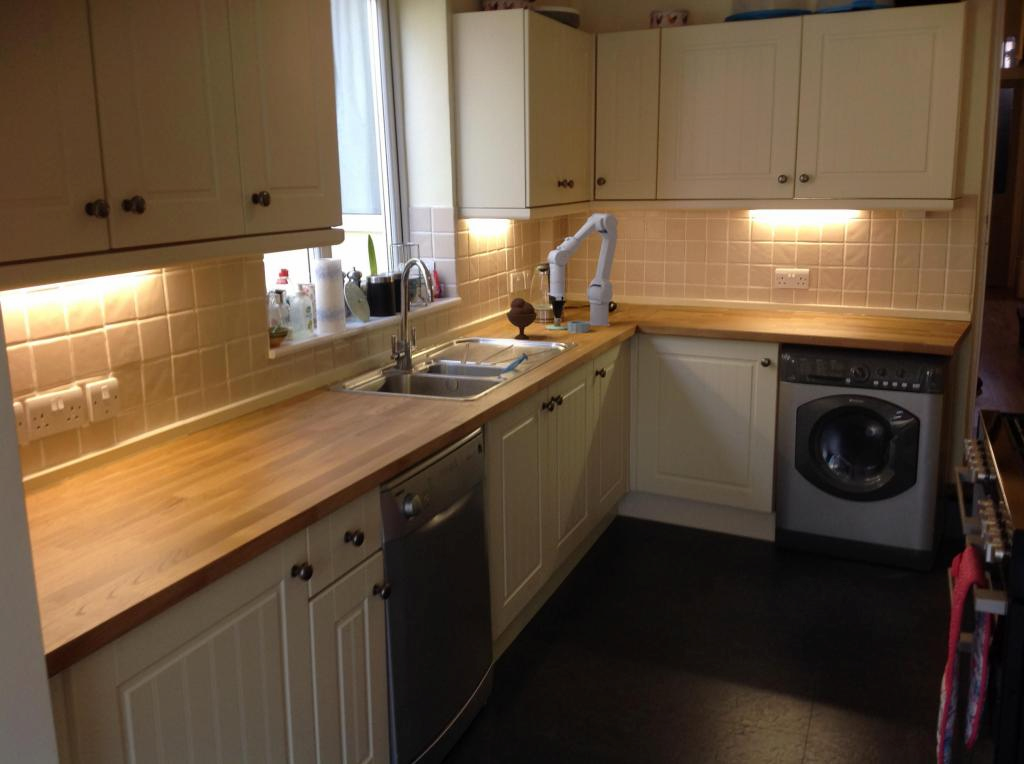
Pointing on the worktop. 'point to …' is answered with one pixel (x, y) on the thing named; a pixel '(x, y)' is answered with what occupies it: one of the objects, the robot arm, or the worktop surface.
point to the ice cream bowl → (521, 316)
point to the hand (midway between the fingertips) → (557, 316)
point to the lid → (557, 325)
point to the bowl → (578, 326)
